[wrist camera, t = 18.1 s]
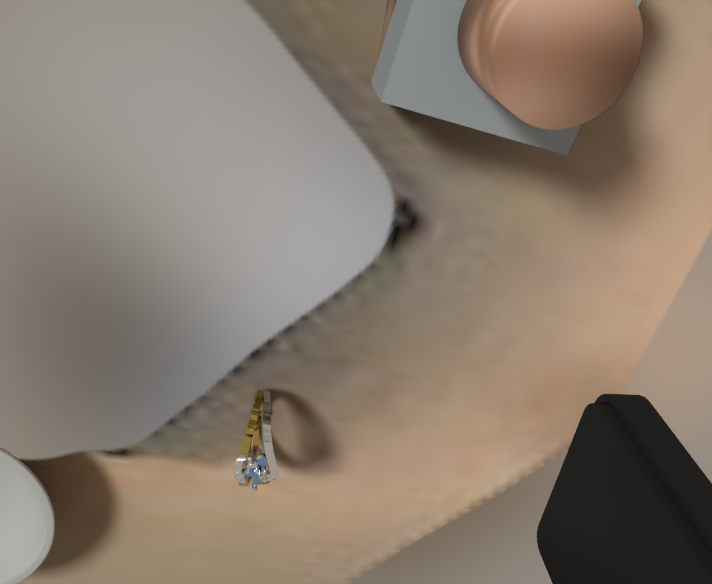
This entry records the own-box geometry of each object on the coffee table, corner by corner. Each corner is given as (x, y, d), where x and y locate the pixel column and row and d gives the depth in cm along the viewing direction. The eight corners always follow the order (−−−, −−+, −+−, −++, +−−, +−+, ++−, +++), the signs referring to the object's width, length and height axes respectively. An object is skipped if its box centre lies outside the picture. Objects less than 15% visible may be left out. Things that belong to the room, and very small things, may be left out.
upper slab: (439, -138, 32) (459, -143, 29) (630, -64, 35) (669, -60, 31) (370, 83, 37) (380, 101, 34) (541, 133, 40) (567, 155, 36)
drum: (479, -56, 30) (524, -48, 25) (602, -25, 32) (668, -11, 27) (442, 83, 33) (475, 115, 28) (555, 106, 35) (606, 140, 30)
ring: (246, 366, 50) (242, 439, 44) (286, 373, 51) (289, 445, 44) (230, 433, 54) (224, 511, 47) (268, 438, 54) (268, 515, 48)
